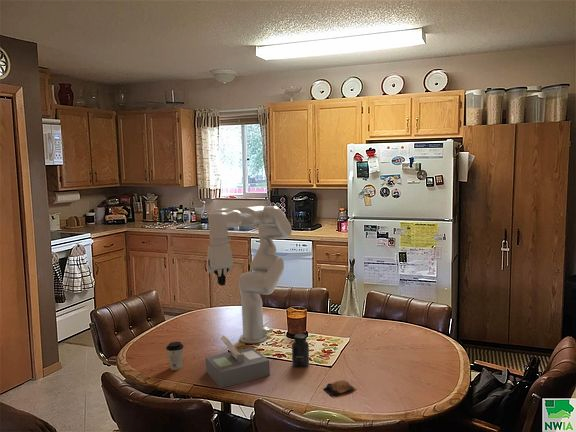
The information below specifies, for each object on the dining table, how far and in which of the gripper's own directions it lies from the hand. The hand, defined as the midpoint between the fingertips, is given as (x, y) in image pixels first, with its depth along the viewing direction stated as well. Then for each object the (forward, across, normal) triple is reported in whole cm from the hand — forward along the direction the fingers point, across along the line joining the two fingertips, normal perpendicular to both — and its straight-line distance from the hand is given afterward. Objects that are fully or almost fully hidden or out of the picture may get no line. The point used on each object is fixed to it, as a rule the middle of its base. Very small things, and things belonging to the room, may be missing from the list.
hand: (221, 284), depth 205 cm
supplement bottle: (+31, -20, +27) cm, 46 cm away
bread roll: (+32, -19, +53) cm, 65 cm away
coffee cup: (+31, +22, -1) cm, 38 cm away
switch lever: (+24, +4, +20) cm, 31 cm away
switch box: (+31, +4, +20) cm, 37 cm away
